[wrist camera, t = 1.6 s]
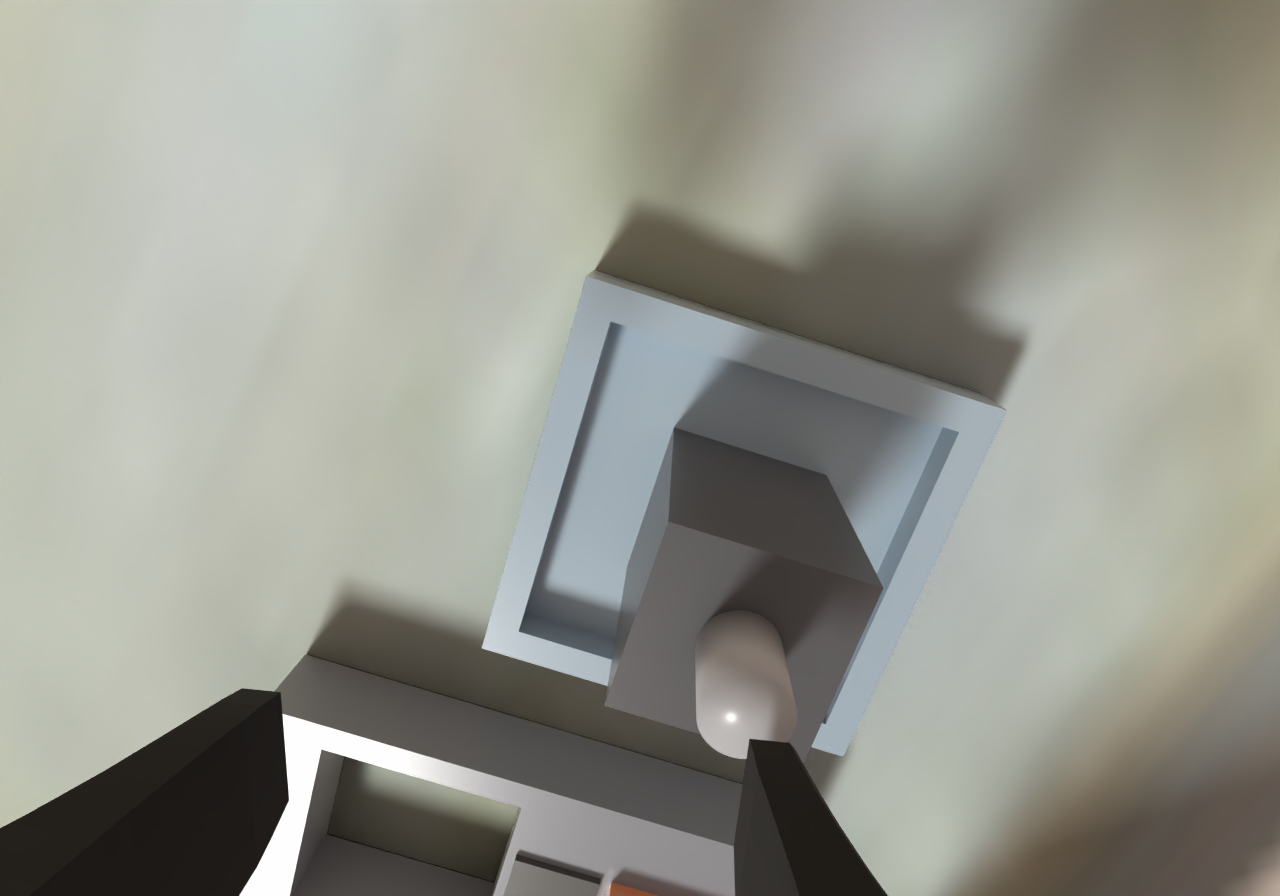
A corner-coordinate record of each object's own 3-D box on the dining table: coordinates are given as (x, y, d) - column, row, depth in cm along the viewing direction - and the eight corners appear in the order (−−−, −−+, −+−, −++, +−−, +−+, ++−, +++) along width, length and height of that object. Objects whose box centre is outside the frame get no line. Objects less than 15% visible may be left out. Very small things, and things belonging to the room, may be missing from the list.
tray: (982, 394, 19) (1006, 410, 18) (832, 718, 22) (843, 756, 21) (594, 269, 19) (586, 275, 18) (495, 617, 22) (481, 648, 21)
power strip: (795, 799, 23) (811, 886, 20) (719, 966, 25) (722, 1066, 23) (305, 654, 23) (248, 722, 20) (269, 837, 25) (213, 922, 22)
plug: (826, 474, 20) (914, 649, 12) (771, 610, 21) (819, 847, 13) (673, 427, 19) (665, 572, 12) (627, 566, 21) (592, 779, 13)
